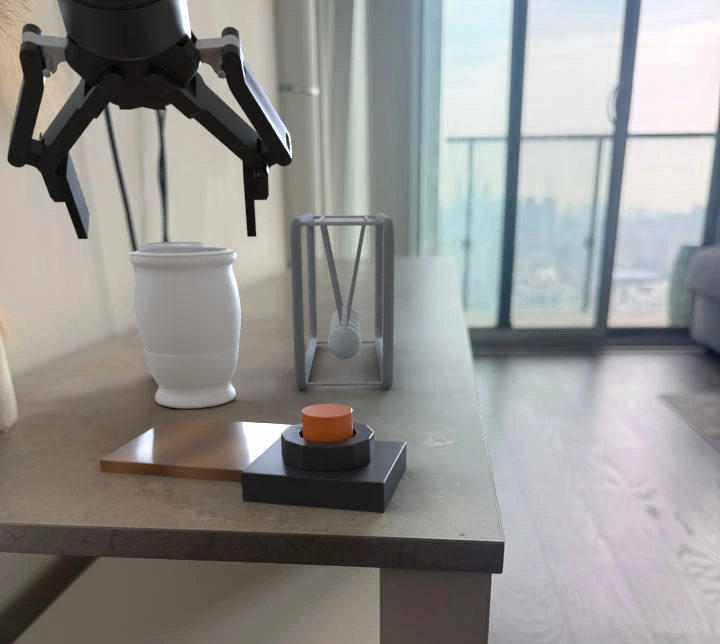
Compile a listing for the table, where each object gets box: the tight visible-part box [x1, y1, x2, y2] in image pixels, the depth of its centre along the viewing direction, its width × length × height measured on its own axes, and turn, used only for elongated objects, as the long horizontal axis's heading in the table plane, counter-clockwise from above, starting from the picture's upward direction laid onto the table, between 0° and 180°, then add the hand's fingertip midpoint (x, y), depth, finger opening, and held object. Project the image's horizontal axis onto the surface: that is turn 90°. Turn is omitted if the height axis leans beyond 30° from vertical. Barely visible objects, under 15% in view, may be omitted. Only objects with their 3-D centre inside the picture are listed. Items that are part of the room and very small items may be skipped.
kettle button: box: [301, 403, 354, 442], centre depth 53 cm, size 4×4×2 cm
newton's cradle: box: [289, 212, 396, 391], centre depth 91 cm, size 30×10×18 cm, turn 1°
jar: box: [128, 246, 242, 410], centre depth 76 cm, size 11×10×15 cm
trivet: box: [99, 417, 293, 483], centre depth 62 cm, size 12×12×1 cm
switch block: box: [241, 421, 407, 514], centre depth 54 cm, size 10×9×4 cm
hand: (168, 225), depth 62 cm, fingers open, 13 cm apart
